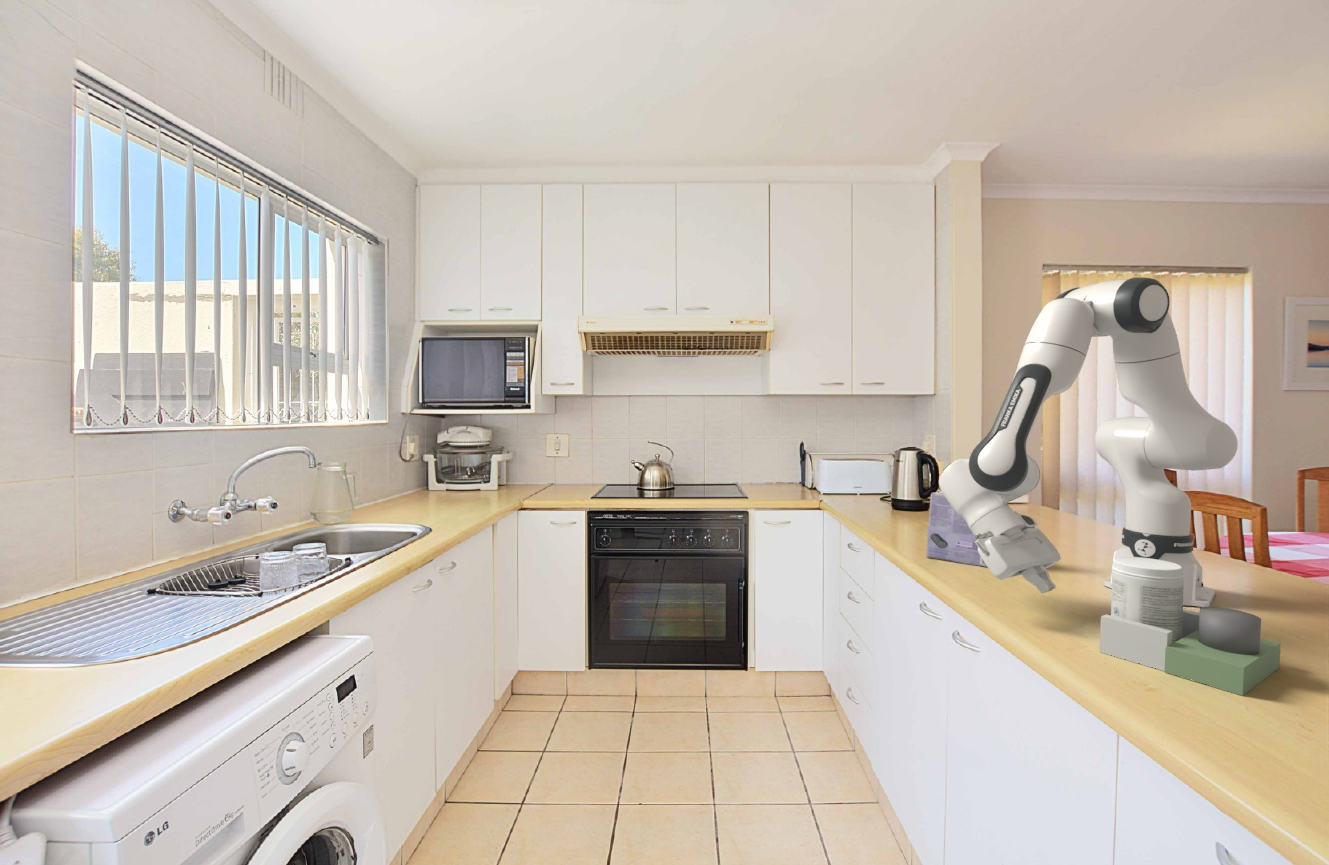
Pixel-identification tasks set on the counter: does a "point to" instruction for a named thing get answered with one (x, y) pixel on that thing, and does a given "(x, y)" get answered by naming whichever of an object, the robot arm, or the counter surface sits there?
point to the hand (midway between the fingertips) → (1049, 590)
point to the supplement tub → (1148, 593)
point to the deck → (1198, 647)
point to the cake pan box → (950, 534)
